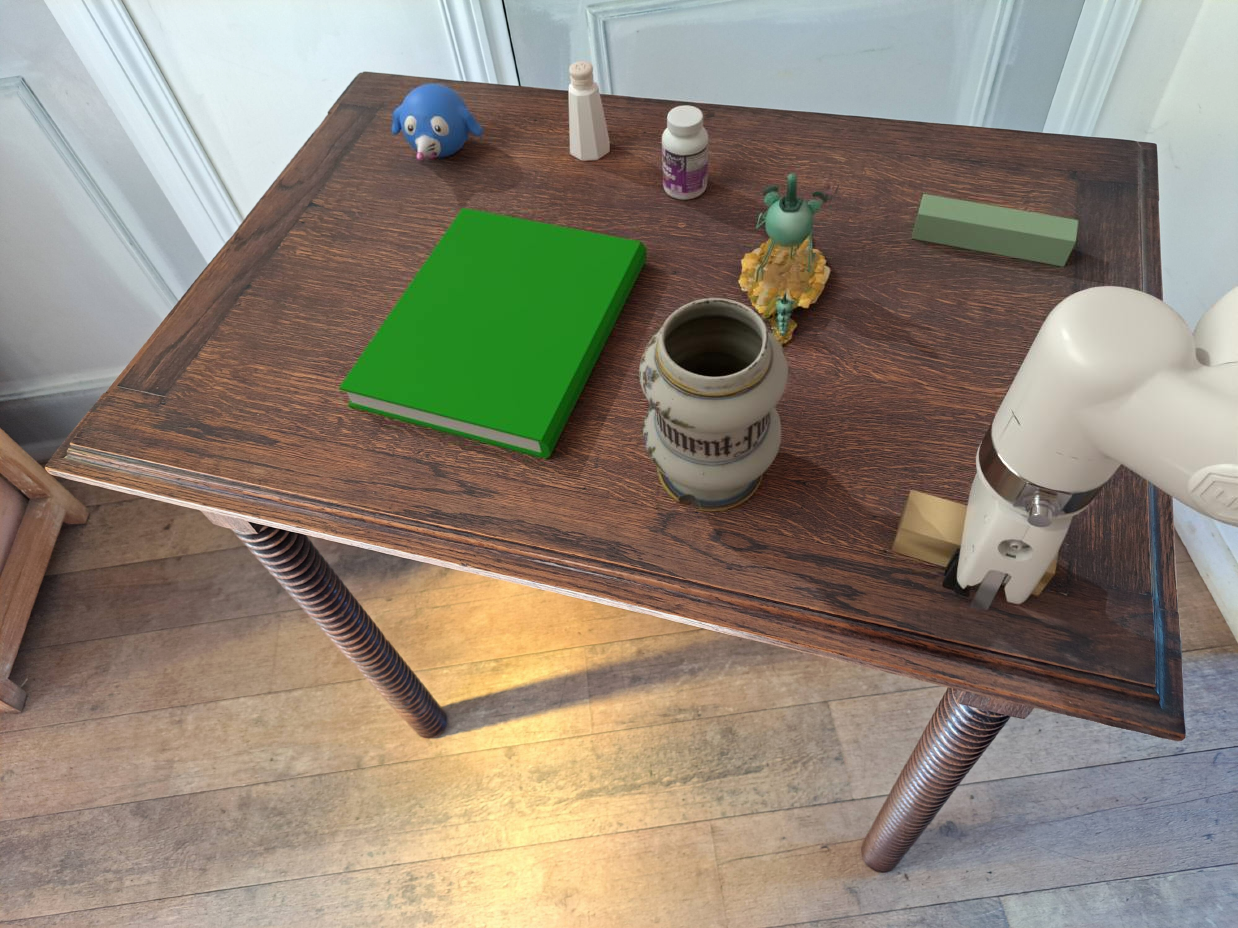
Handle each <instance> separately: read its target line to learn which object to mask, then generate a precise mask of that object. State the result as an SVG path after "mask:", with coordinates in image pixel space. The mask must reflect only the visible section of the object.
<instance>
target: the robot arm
mask: <svg viewBox="0 0 1238 928" xmlns="http://www.w3.org/2000/svg"><path fill="white" fill-rule="evenodd" d="M1016 373H1017V374H1016V375H1015V377H1014V379H1013V381H1012V383H1011V385H1010V387H1009V389H1008V391H1007V392H1006V394H1005V396H1004V398H1003V400H1002V401H1001V404H1000V406H999V407H998V409H997V412H996V413H995V415H994V416H993V419H992V421H991V423H990V425H989V426H988V429H987V431H986V433H985V434H984V436H983V438H982V440H981V442H980V444H979V446H978V448H977V452H976V455H975V466H976V473H975V475H974V478H973V480H972V483H971V488H970V492H969V495H968V500H967V512H966V518H965V524H964V530H963V536H962V543H961V549H959V548H957V549H956V551H955V553H954V554H953V556H952V558H951V559H950V561H949V563H948V565H947V566H946V567H944V573H943V576H944V578H943V579H942V584H941V586H942V588H943V589H945V590H949V591H952V592H954V593H955V594H956V595H958V596H961V597H964V598H968V608H970V609H974V610H978V611H981V612H985V613H986V612H987V611H988V610H989V608H990V606H991V604H992V602H993V600H994V598H996V595H997V593H998V591H999V589H1000V587H1001V586H1002V585H1001V584H1002V582H1003V583H1005V584H1006V586H1004V593H1005V598H1006V603H1011V604H1016V605H1020V604H1022V603H1024V602H1025V601H1027V599H1028V598H1029V597H1030V596H1031V595H1032V594H1031V593H1032V591H1033V590H1034V588H1035V587H1036V586H1037V584H1038V583H1039V581H1040V580H1041V578H1042V577H1043V575H1044V574H1045V572H1046V570H1047V569H1048V567H1049V566H1050V564H1051V562H1052V561H1053V559H1054V557H1055V556H1056V554H1057V552H1058V553H1059V551H1058V550H1060V548H1061V546H1062V544H1063V542H1064V540H1065V538H1066V536H1067V533H1068V531H1069V529H1070V526H1071V523H1072V520H1073V517H1075V516H1077V515H1078V514H1080V513H1081V512H1083V511H1085V510H1086V509H1087V508H1088V507H1089V506H1090V505H1091V504H1092V502H1093V501H1094V500H1095V499H1096V497H1097V496H1098V495H1099V494H1100V492H1101V491H1102V490H1103V488H1104V487H1105V486H1106V484H1107V483H1108V482H1109V481H1110V479H1111V478H1112V477H1113V476H1114V474H1115V473H1116V472H1117V470H1118V469H1119V468H1120V466H1121V465H1122V466H1124V467H1126V468H1127V469H1129V470H1130V471H1131V472H1133V473H1135V474H1136V475H1138V476H1139V477H1141V478H1142V479H1144V480H1145V481H1147V482H1148V483H1150V484H1151V485H1152V486H1154V487H1156V488H1157V489H1159V490H1161V491H1162V492H1164V493H1165V494H1166V495H1169V496H1170V497H1171V498H1174V499H1175V500H1176V501H1178V502H1180V503H1181V504H1183V505H1185V506H1186V507H1188V508H1190V509H1191V510H1194V511H1196V512H1197V513H1199V514H1201V515H1202V516H1205V517H1207V518H1210V519H1213V520H1215V521H1217V522H1219V523H1223V524H1225V525H1228V526H1232V527H1236V528H1238V284H1237V285H1236V286H1235V287H1232V289H1229V290H1228V291H1227V292H1226V293H1224V294H1223V295H1222V296H1221V297H1219V298H1218V299H1216V301H1215V302H1213V303H1212V304H1211V305H1210V306H1209V308H1208V309H1207V310H1206V311H1205V312H1204V313H1203V314H1202V315H1201V317H1200V318H1199V320H1198V322H1197V323H1196V325H1195V327H1194V329H1193V332H1192V330H1191V328H1190V326H1189V324H1188V323H1187V322H1186V320H1185V319H1184V318H1183V317H1182V316H1181V314H1180V313H1179V312H1178V311H1176V309H1174V308H1173V307H1172V306H1170V305H1169V304H1167V302H1165V301H1163V300H1161V299H1159V298H1157V297H1155V296H1154V295H1152V294H1150V293H1146V292H1144V291H1141V290H1138V289H1134V288H1130V287H1124V286H1116V285H1104V286H1094V287H1088V288H1086V289H1083V290H1080V291H1077V292H1075V293H1072V294H1070V295H1069V296H1067V297H1065V298H1064V299H1063V300H1062V301H1060V302H1059V303H1058V304H1056V305H1055V307H1054V308H1053V309H1052V310H1051V311H1050V312H1049V314H1048V315H1047V317H1046V318H1045V320H1044V321H1043V322H1042V325H1041V327H1040V328H1039V331H1038V333H1037V335H1036V337H1035V339H1034V340H1033V342H1032V344H1031V346H1030V348H1029V349H1028V352H1027V354H1026V355H1025V357H1024V359H1023V362H1022V364H1021V366H1020V368H1019V370H1018V371H1017V372H1016Z"/></svg>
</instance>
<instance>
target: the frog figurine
mask: <svg viewBox="0 0 1238 928" xmlns="http://www.w3.org/2000/svg"><path fill="white" fill-rule="evenodd" d="M797 188H798V175H796V174H795V173H789V174H787V179H786V194H785V195H782V196H780V194H779V193H778V192H779V187H778V186H775V185H770V186H768V187H766V188H764V190H763V191H762V196H765V197H764V200H763V202H764V204H765V206H767V207H769V208H768V209H767V210H766V212H765V213H763V212H760V213H759V215H758V218H757V219H758V220H757V222H756V223H757V224H756V226H755V229H759V227H761V226H762V225H763V224H765V231H766V234H767V236H768V237H769V238H768V240H767V241H766V242H762V243H761V244H760V246H759V247H758V248H757V247H756V248H755V249H754V250H752V252H747V253H745V254H744V257H743V258H742V259H741V260H740V263H741V264H740V265H741V267H742V268H741V273H740V275H739V279H738V284H739V286H740V288H741V291H742V292H746V293H747V294H745V296H746V297H747V298H748V299H749V301H750V303H751V306H752V307H754V309H755V310H756V311H757V312H758V313H759V315H760V314H761V318H762V319H767V321H768V322H770V324H769V325H770V327H771V330H772V333H773V334H774V336H775V337H776V338H777V339H778V341H779V342H780V344H781V346H783V345H784V344H787V343H788V342H790V340H792V339H793V333H794V330H795V329H796V328H797V327H798V323H797V322H796V321H795V319H792V318H791V315H792V314H793V312H794V309H797V308H798V307H800V308H801V307H802V308H804V309H809V307H810V305H813V304H815V303H816V302H817V301H818V299H819V297H820V295H821V294H822V292H823V291H824V289H825V286H826V285H825V284H826V283H827V281H828V279H829V277H830V273H831V268H830V267H829V266H827V265H826V263H827V260H826V259H825V258H826V257H825V255H823V252H822V251H820V250H819V249H818V248H813V227H814V215H816V214H818V213H819V212H820V210H821V208H822V207H821V206H822V202H821V201H819V200H818V199H811V200H809V201H808V202H806V201H805V200H804V199H803V198H801V196H798V195H797V192H798V191H797V190H798V189H797ZM779 196H780V197H779ZM811 196H812V197H813V198H815V197H816V198H817V197H818V198H820V199H821V200H822V201H823V202H824V204H826V203H827V201H828V198H827V197H826V195H825V194H824V193H823V192H822V191H819V190H817V191H816V190H815V191H813V192H812V195H811ZM762 219H764V220H762ZM761 220H762V221H761ZM776 314H777V315H776ZM771 316H772V317H771ZM770 317H771V318H770Z"/></svg>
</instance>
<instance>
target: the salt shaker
mask: <svg viewBox="0 0 1238 928" xmlns="http://www.w3.org/2000/svg"><path fill="white" fill-rule="evenodd" d="M568 72H569V75H570V81H571V83H570V84H568V126H569V127H568V128H569V130H568V131H569V133H568V134H569V155H571V156H572V157H573V158H576V159H577V160H579V161H581V162H588V161H589V162H590V161H598V160H600V159H602V158H603V157H604V156H605V155H607V154H609V153H610V150H611V149H610V148H611V147H610V137H609V132H608V126H607V121H606V117H605V113H604V112H605V111H604V107H603V102H602V98H601V97H602V96H601V92H600V87H599V85H598V82H596V81H594V73H593V72H594V66H593V64H592V63H591V62H588V61H585V60H581V61H576V62H573V63H572V64H571V65H570V66H569V68H568Z"/></svg>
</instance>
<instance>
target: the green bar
mask: <svg viewBox="0 0 1238 928" xmlns="http://www.w3.org/2000/svg"><path fill="white" fill-rule="evenodd" d="M1078 229H1079V220H1078V219H1075V218H1069V217H1063V216H1057V215H1051V214H1045V213H1039V212H1033V211H1027V210H1023V209H1022V210H1021V209H1015V208H1009V207H1004V206H998V205H992V204H987V203H981V202H974V201H970V200H969V201H968V200H963V199H957V198H951V197H945V196H939V195H935V194H927V193H923V194H922V198H921V201H920V205H919V208H918V211H917V215H916V219H915V223H914V226H913V231H912V233H911V237H910V238H911V239H912V240H916V241H923V242H928V243H933V244H938V245H944V246H949V247H954V248H961V249H965V250H971V251H977V252H982V253H987V254H988V253H989V254H993V255H998V256H1004V257H1009V258H1015V259H1019V260H1025V261H1030V262H1037V263H1040V264H1041V263H1042V264H1047V265H1051V266H1052V265H1053V266H1058V267H1065V265H1066V264H1067V262H1068V259H1069V257H1070V255H1071V253H1072V251H1073V250H1074V247H1075V245H1076V243H1077V235H1078Z"/></svg>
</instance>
